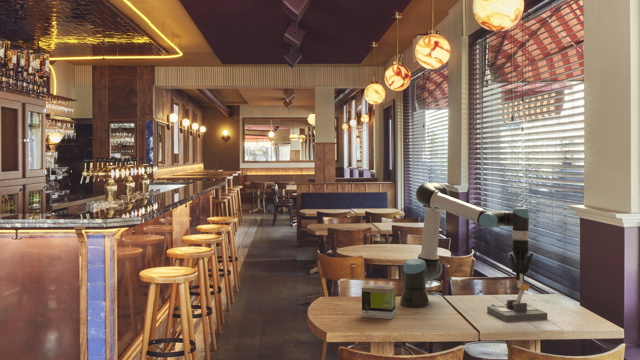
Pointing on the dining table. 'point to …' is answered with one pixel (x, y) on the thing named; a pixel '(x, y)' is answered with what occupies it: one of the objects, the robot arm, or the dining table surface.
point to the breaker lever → (521, 293)
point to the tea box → (378, 301)
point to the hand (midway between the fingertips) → (519, 286)
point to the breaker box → (516, 312)
